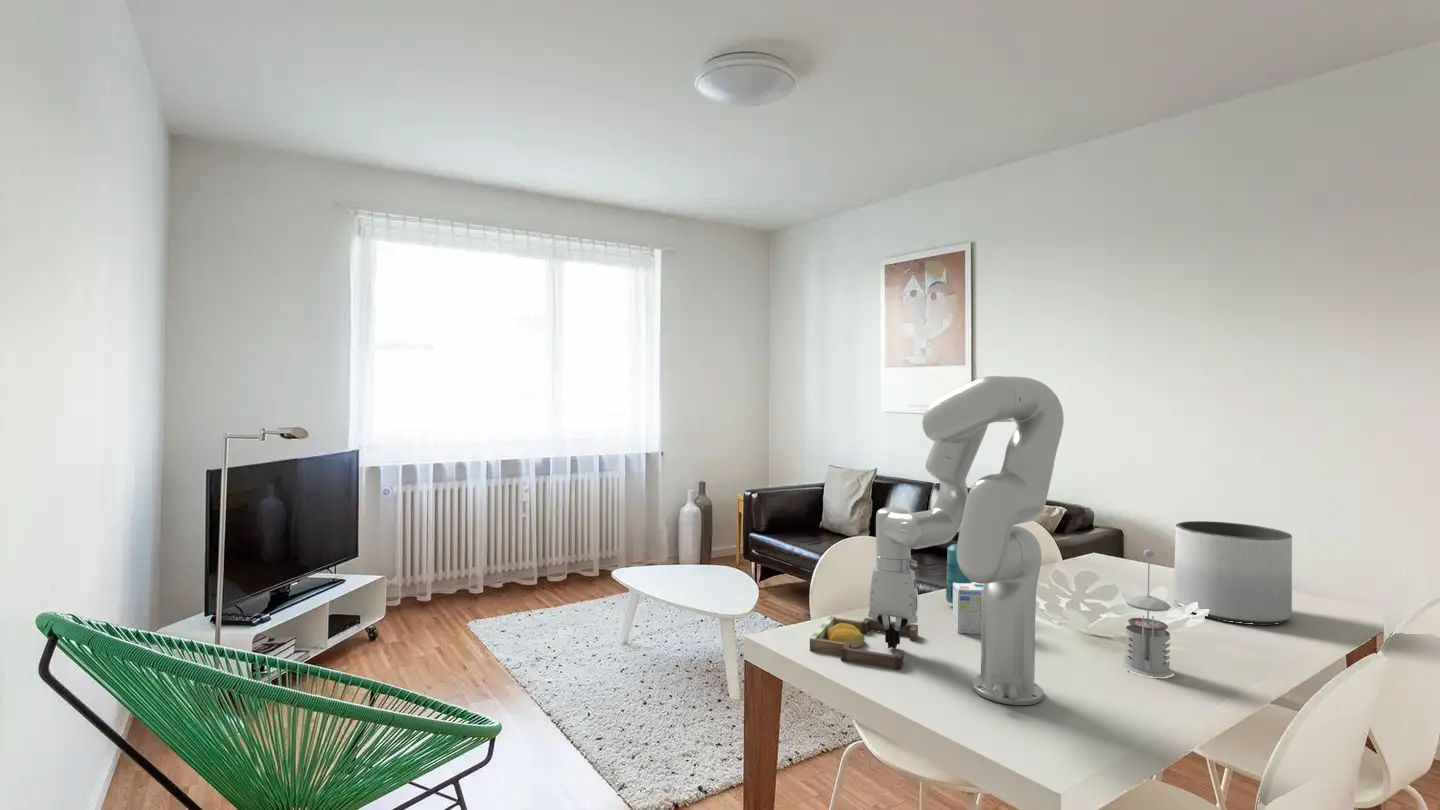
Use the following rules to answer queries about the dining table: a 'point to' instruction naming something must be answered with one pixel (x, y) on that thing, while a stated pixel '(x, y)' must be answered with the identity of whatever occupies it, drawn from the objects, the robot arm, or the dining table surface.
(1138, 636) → the french press
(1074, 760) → the dining table surface
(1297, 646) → the dining table surface
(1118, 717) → the dining table surface
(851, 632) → the bread roll
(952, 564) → the beverage bottle
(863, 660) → the frame
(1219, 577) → the planter
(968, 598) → the light bulb box
